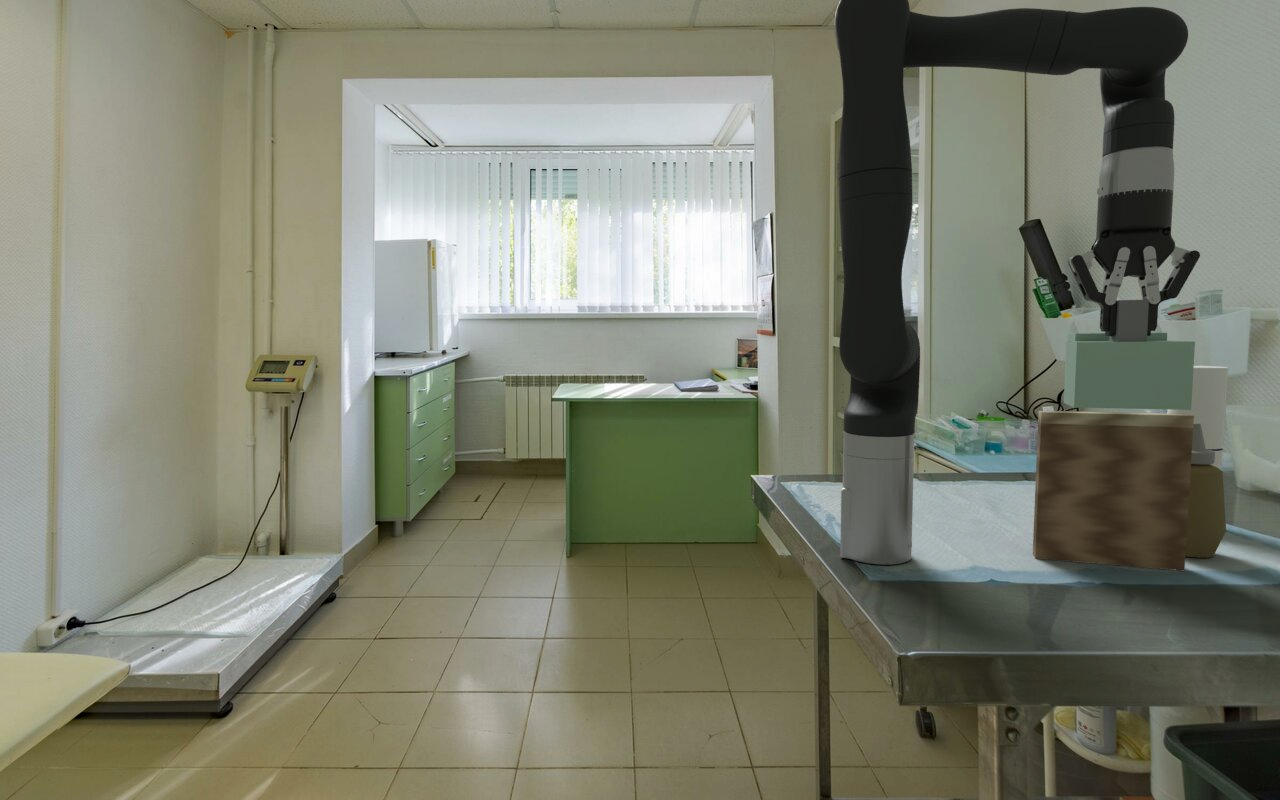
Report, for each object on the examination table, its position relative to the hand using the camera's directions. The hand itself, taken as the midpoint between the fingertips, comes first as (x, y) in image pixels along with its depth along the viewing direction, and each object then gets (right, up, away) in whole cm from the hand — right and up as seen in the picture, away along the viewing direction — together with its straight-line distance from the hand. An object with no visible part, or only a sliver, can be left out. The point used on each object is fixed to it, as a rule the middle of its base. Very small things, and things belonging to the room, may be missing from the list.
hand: (1127, 335), depth 89 cm
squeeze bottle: (+16, -29, +11) cm, 35 cm away
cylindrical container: (+26, -28, +25) cm, 45 cm away
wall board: (+3, -29, +10) cm, 31 cm away
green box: (+1, -9, +3) cm, 9 cm away
